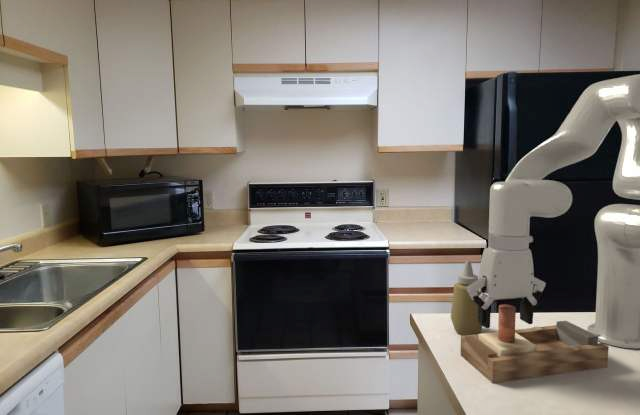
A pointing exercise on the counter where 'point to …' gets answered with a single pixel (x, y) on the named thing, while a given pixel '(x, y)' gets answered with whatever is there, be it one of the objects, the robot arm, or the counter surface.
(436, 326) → the counter surface
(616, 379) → the counter surface
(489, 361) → the base
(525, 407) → the counter surface
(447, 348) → the counter surface
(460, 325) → the squeeze bottle
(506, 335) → the carriage
